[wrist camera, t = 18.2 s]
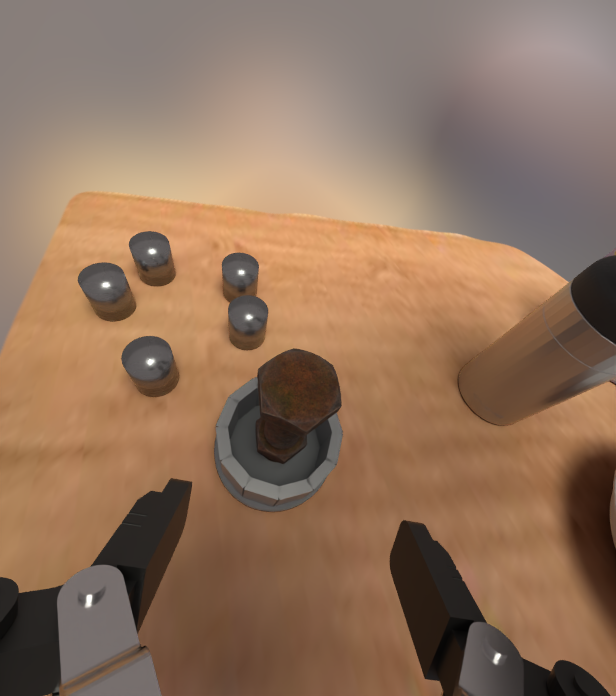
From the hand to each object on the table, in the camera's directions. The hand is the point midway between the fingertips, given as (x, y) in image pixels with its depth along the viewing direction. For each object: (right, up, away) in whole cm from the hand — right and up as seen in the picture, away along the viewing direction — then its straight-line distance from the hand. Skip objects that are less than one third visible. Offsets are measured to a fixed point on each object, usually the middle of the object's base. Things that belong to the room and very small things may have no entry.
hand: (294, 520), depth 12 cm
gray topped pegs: (-15, +11, +28) cm, 34 cm away
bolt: (-3, -4, +21) cm, 21 cm away
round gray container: (-3, -4, +22) cm, 22 cm away
